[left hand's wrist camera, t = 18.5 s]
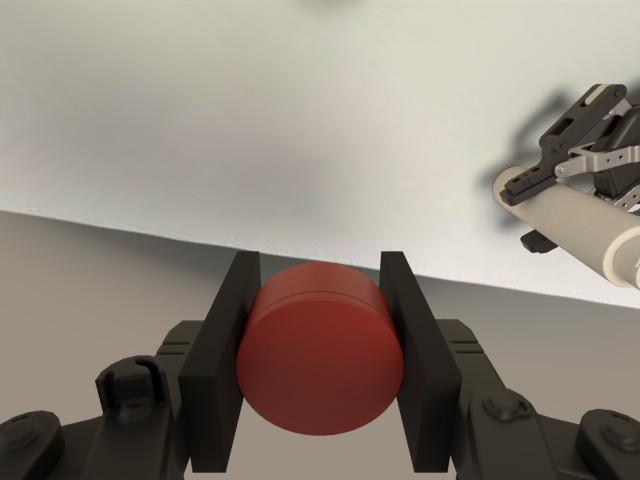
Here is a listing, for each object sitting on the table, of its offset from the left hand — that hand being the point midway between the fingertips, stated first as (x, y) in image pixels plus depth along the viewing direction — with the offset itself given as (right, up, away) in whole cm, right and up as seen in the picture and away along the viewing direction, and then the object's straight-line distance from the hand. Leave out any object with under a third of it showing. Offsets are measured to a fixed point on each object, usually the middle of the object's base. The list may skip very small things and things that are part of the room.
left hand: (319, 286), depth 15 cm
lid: (0, -2, -4) cm, 4 cm away
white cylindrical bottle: (+19, +7, +24) cm, 31 cm away
